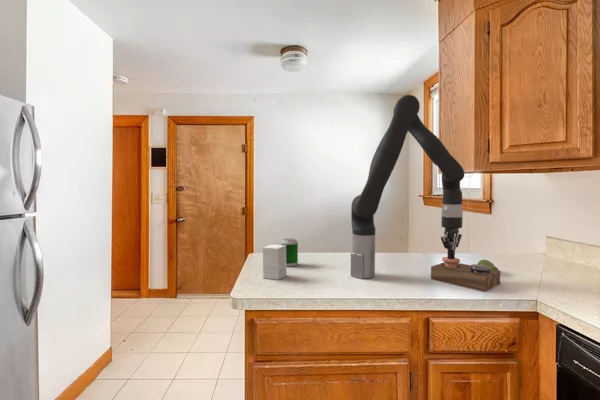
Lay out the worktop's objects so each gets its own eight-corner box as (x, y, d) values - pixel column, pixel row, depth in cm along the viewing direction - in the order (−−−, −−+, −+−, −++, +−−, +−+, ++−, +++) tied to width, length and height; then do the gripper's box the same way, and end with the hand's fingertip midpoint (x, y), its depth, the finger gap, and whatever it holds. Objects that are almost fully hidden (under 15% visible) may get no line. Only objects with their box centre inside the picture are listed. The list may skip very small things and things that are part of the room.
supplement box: (287, 275, 134) (287, 245, 133) (278, 280, 127) (278, 248, 127) (271, 273, 137) (271, 243, 137) (262, 278, 131) (262, 247, 130)
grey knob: (485, 284, 117) (485, 269, 117) (467, 280, 122) (467, 266, 121) (492, 281, 121) (492, 266, 121) (474, 277, 126) (474, 263, 126)
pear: (487, 257, 141) (504, 267, 132) (485, 269, 142) (502, 279, 133) (475, 257, 141) (491, 267, 131) (473, 269, 142) (489, 279, 132)
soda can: (297, 267, 147) (297, 241, 147) (281, 267, 147) (280, 241, 147) (297, 263, 155) (297, 238, 154) (282, 263, 155) (282, 238, 154)
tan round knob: (454, 275, 125) (455, 261, 125) (438, 272, 130) (439, 258, 130) (462, 272, 129) (462, 259, 129) (446, 269, 134) (446, 256, 134)
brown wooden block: (484, 291, 113) (485, 277, 113) (430, 278, 129) (431, 266, 129) (500, 283, 122) (500, 270, 122) (447, 272, 138) (448, 261, 138)
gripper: (450, 213, 136) (449, 254, 137) (434, 215, 127) (433, 259, 128) (469, 215, 130) (468, 257, 131) (453, 217, 122) (452, 263, 122)
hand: (451, 258), depth 130 cm, fingers closed
